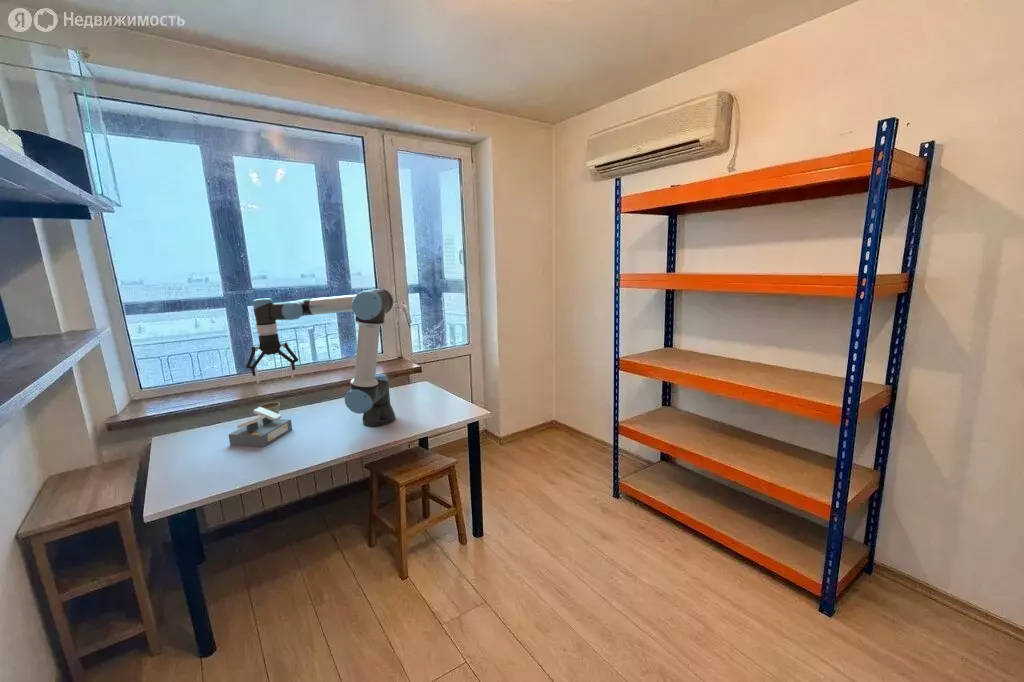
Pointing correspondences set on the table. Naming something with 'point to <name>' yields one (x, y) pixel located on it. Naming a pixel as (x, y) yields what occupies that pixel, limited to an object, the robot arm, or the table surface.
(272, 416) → the rocker
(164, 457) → the table surface
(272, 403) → the flower pot
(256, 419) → the rocker
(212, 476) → the table surface
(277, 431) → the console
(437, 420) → the table surface
